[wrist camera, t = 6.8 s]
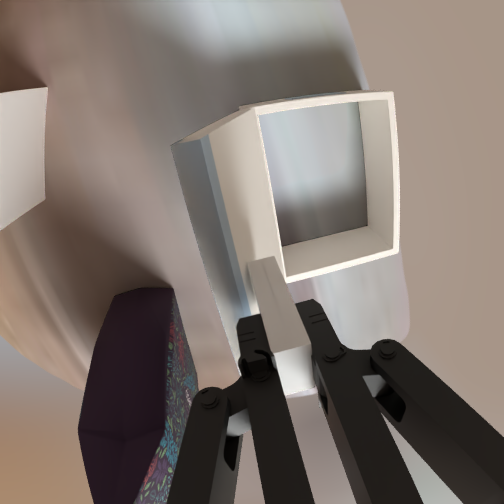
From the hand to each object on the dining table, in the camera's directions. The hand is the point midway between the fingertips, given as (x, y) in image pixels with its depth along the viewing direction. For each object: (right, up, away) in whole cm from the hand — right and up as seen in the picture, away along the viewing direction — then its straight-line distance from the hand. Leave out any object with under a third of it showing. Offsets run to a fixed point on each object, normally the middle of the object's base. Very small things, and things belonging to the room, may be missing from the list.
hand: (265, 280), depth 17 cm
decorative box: (-13, -10, +22) cm, 27 cm away
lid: (0, +2, +3) cm, 4 cm away
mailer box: (+6, +10, +15) cm, 19 cm away
